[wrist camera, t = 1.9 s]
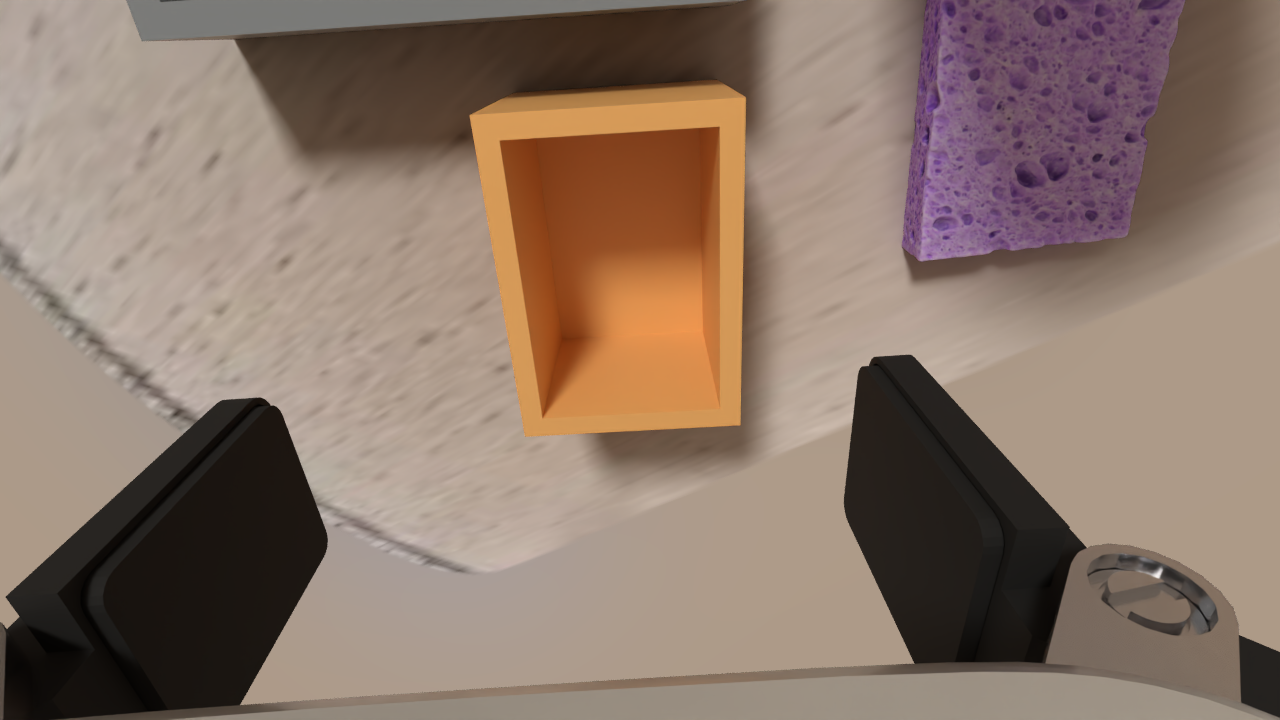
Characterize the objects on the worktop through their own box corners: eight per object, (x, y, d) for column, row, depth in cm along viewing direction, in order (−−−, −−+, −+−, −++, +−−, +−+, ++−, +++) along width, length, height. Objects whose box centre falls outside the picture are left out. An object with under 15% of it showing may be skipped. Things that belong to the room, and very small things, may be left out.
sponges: (896, 246, 23) (916, 263, 21) (933, -201, 17) (965, -227, 15) (1094, 225, 23) (1131, 241, 21) (1199, -237, 17) (1261, -266, 15)
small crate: (716, 79, 20) (746, 97, 14) (717, 337, 24) (740, 425, 19) (513, 92, 20) (469, 115, 15) (549, 347, 24) (525, 436, 19)
